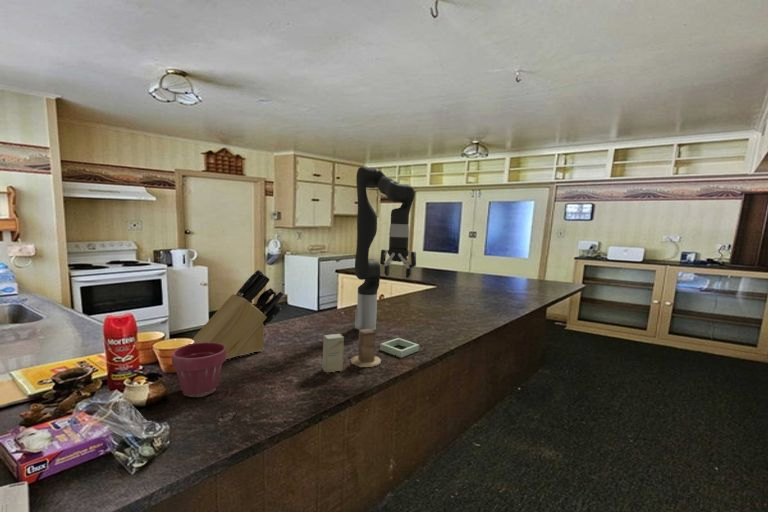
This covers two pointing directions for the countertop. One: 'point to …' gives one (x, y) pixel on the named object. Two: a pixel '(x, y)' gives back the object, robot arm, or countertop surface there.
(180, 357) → the plant pot
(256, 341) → the knife block
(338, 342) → the skincare box
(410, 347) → the holder
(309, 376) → the countertop surface
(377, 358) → the coaster
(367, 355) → the walnut block
